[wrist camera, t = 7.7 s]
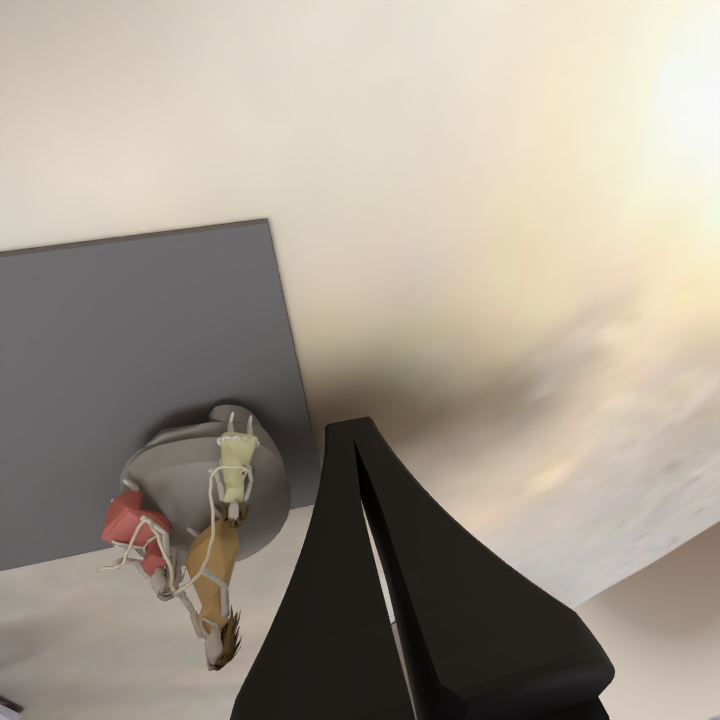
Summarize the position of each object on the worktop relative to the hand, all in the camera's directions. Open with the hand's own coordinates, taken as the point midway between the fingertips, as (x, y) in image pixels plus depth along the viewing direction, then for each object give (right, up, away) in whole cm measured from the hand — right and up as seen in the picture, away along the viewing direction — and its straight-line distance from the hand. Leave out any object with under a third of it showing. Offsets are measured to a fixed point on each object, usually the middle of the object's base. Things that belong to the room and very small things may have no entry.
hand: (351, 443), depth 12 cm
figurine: (-4, 0, 0) cm, 4 cm away
